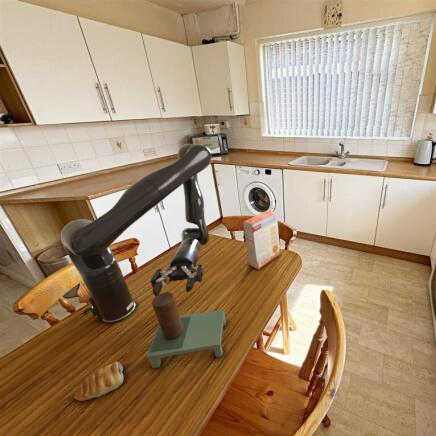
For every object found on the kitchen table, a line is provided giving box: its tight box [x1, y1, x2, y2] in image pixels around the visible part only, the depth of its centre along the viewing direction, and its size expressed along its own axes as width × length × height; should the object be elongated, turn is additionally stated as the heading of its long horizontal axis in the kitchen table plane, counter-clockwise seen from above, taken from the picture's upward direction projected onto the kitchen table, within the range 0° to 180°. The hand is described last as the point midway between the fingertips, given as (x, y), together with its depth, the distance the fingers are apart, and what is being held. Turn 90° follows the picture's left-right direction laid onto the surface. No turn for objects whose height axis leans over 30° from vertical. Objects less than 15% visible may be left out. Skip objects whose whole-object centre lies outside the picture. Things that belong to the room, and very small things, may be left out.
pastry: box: [73, 361, 125, 402], centre depth 57 cm, size 9×7×4 cm
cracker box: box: [242, 209, 281, 270], centre depth 100 cm, size 14×6×21 cm, turn 141°
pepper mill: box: [151, 291, 184, 340], centre depth 63 cm, size 5×5×12 cm
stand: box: [145, 309, 227, 369], centre depth 67 cm, size 18×12×5 cm, turn 99°
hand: (171, 291), depth 67 cm, fingers open, 8 cm apart
